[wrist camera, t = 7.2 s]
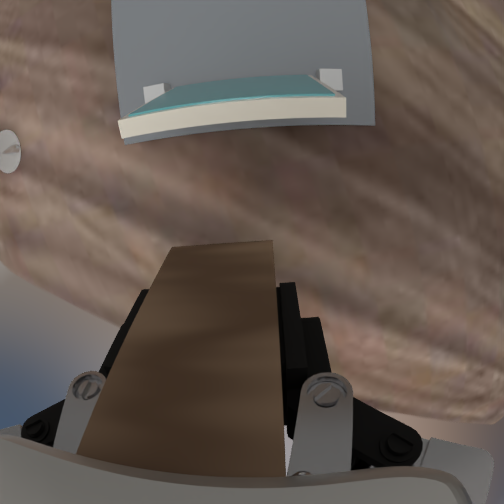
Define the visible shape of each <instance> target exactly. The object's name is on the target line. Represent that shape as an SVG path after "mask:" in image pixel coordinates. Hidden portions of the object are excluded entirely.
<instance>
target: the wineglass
mask: <svg viewBox="0 0 504 504" xmlns="http://www.w3.org/2000/svg"><path fill="white" fill-rule="evenodd" d="M20 158H21V148H20V143H19V140H18V138H17V136H16V135H15V134H14V132H12V131H10V130H3V131H1V132H0V170H1V171H3V172H4V173H12V172H13V171H15V170H16V169H17V167H18V165H19V162H20Z"/></svg>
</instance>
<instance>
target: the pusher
mask: <svg viewBox="0 0 504 504" xmlns="http://www.w3.org/2000/svg"><path fill="white" fill-rule="evenodd" d="M76 454H77V455H81V456H84V457H88V458H92V459H96V460H101V461H105V462H110V463H114V464H119V465H124V466H129V467H135V468H141V469H147V470H154V471H161V472H168V473H177V474H187V475H199V476H214V477H286V468H285V443H284V419H283V398H282V379H281V361H280V343H279V327H278V311H277V296H276V281H275V267H274V253H273V240H266V241H251V242H236V243H222V244H208V245H194V246H180V247H172V248H171V250H170V252H169V253H168V255H167V257H166V259H165V261H164V263H163V265H162V266H161V268H160V270H159V272H158V274H157V276H156V278H155V280H154V282H153V284H152V285H151V287H150V289H149V291H148V293H147V295H146V297H145V299H144V301H143V303H142V305H141V307H140V309H139V311H138V313H137V315H136V317H135V319H134V321H133V323H132V325H131V327H130V329H129V331H128V334H127V336H126V338H125V340H124V342H123V344H122V346H121V348H120V350H119V353H118V355H117V357H116V359H115V361H114V364H113V366H112V368H111V370H110V372H109V375H108V377H107V379H106V381H105V384H104V386H103V388H102V391H101V393H100V395H99V397H98V400H97V402H96V405H95V407H94V409H93V412H92V414H91V417H90V419H89V422H88V424H87V426H86V429H85V432H84V434H83V437H82V439H81V442H80V444H79V447H78V450H77V452H76Z"/></svg>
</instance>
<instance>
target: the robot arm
mask: <svg viewBox="0 0 504 504" xmlns="http://www.w3.org/2000/svg"><path fill="white" fill-rule="evenodd" d="M148 291H149V289H144V290H142V291H141V292H140V294H139V296H138V298H137V300H136V302H135V304H134V306H133V307H132V309H131V311H130V313H129V315H128V317H127V319H126V321H125V323H124V324H123V325H122V326H121V328H120V330H119V332H118V334H117V336H116V338H115V340H114V342H113V344H112V346H111V348H110V350H109V352H108V354H107V356H106V358H105V360H104V362H103V364H102V366H101V368H100V370H99V372H97V371H88V372H84V373H82V374H80V375H78V376H77V377H75V378H74V380H73V381H72V382H71V384H70V386H69V389H68V392H67V395H66V399H64V400H62V401H60V402H58V403H56V404H54V405H52V406H51V407H49V408H47V409H45V410H43V411H41V412H39V413H37V414H35V415H33V416H31V417H30V418H28V419H27V420H26V422H25V423H24V425H23V426H21V425H16V426H12V427H9V428H5V429H1V430H0V504H485V503H486V499H487V495H488V491H489V487H490V483H491V478H492V473H493V469H494V461H493V459H492V456H491V455H490V454H489V453H488V452H487V451H486V450H483V449H480V448H475V447H471V446H466V445H461V444H457V443H452V442H448V441H443V440H439V439H436V438H430V440H427V439H423V438H421V436H420V435H419V434H418V433H417V431H416V430H414V429H413V428H411V427H409V426H407V425H405V424H403V423H401V422H399V421H397V420H396V419H394V418H392V417H390V416H388V415H386V414H384V413H382V412H380V411H378V410H376V409H374V408H373V407H371V406H369V405H367V404H365V403H363V402H361V401H360V400H358V399H356V398H354V397H353V390H352V386H351V384H350V383H349V381H348V380H347V379H346V378H344V377H343V376H341V375H338V374H336V373H331V368H330V363H329V358H328V354H327V349H326V344H325V340H324V335H323V331H322V326H321V322H320V318H319V317H311V318H301V317H300V311H299V304H298V298H297V292H296V286H295V282H289V283H280V287H276V296H277V311H278V327H279V343H280V361H281V379H282V398H283V419H284V425H287V434H288V437H289V438H291V439H292V440H293V445H292V451H291V456H290V461H289V467H288V472H287V476H286V477H214V476H199V475H187V474H177V473H168V472H161V471H154V470H147V469H141V468H135V467H129V466H124V465H119V464H114V463H110V462H105V461H101V460H96V459H92V458H88V457H84V456H81V455H77V454H76V452H77V450H78V447H79V444H80V442H81V439H82V437H83V434H84V432H85V429H86V426H87V424H88V422H89V419H90V417H91V414H92V412H93V409H94V407H95V405H96V402H97V400H98V397H99V395H100V393H101V391H102V388H103V386H104V384H105V381H106V379H107V377H108V375H109V372H110V370H111V368H112V366H113V364H114V361H115V359H116V357H117V355H118V353H119V350H120V348H121V346H122V344H123V342H124V340H125V338H126V336H127V334H128V331H129V329H130V327H131V325H132V323H133V321H134V319H135V317H136V315H137V313H138V311H139V309H140V307H141V305H142V303H143V301H144V299H145V297H146V295H147V293H148Z"/></svg>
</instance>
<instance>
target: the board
mask: <svg viewBox="0 0 504 504" xmlns="http://www.w3.org/2000/svg"><path fill="white" fill-rule="evenodd" d="M111 4H112V30H113V46H114V60H115V71H116V81H117V90H118V99H119V107H120V115H121V118H123V117H124V116H126V115H127V114H129V113H131V112H132V111H134V110H135V109H137V108H139V107H140V106H142V105H144V104H146V103H147V102H149V101H151V100H152V99H154V98H156V97H158V96H159V95H161V94H163V93H165V92H167V91H168V90H170V89H172V88H175V87H177V86H183V85H189V84H196V83H202V82H210V81H218V80H226V79H236V78H247V77H259V76H276V75H312V76H313V77H315V78H317V79H318V80H320V81H321V82H323V83H325V84H326V85H328V86H329V87H331V88H332V89H334V90H335V91H337V92H338V93H340V94H341V95H343V96H344V97H346V118H339V117H325V118H286V119H267V120H252V121H240V122H229V123H219V124H211V125H202V126H194V127H187V128H180V129H173V130H167V131H161V132H155V133H149V134H143V135H138V136H133V137H127V138H124V142H125V145H127V144H132V143H138V142H143V141H149V140H155V139H161V138H168V137H175V136H182V135H189V134H197V133H205V132H214V131H223V130H234V129H245V128H258V127H274V126H296V125H374V126H375V102H374V81H373V66H372V53H371V42H370V33H369V24H368V16H367V8H366V1H365V0H111Z"/></svg>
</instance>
